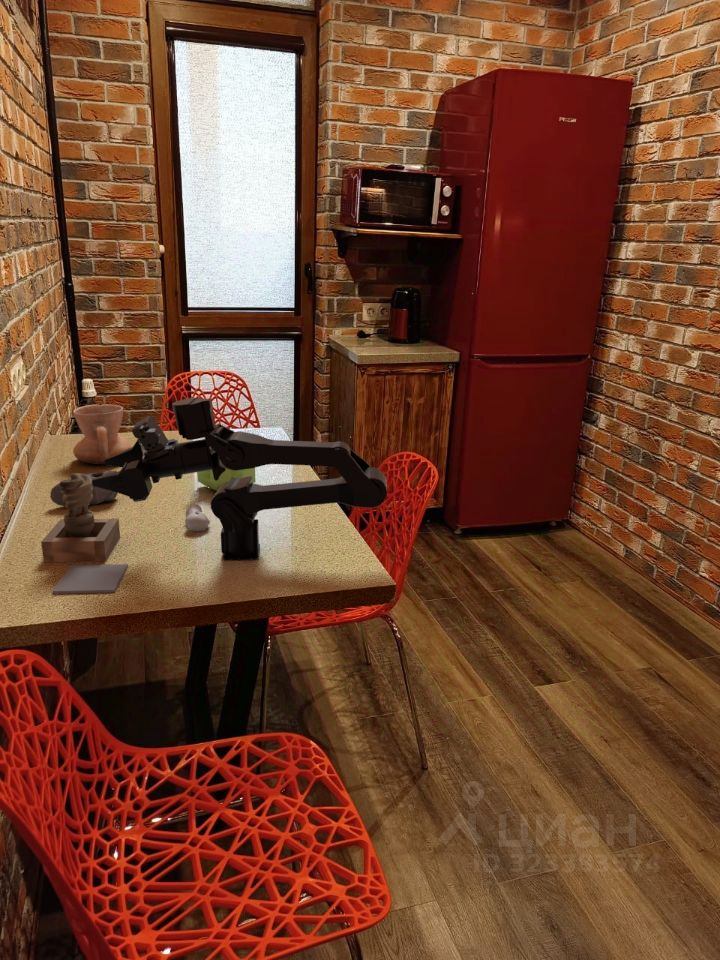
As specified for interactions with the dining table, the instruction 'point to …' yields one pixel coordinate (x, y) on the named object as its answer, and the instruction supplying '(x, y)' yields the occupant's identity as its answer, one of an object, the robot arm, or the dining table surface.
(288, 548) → the dining table surface
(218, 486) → the kettle
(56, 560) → the socket block
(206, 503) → the dining table surface
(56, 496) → the perforated stone tool
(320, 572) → the dining table surface
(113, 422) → the ceramic jug
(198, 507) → the pale two-lobed sculpture
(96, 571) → the rubber mat
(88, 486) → the light bulb
